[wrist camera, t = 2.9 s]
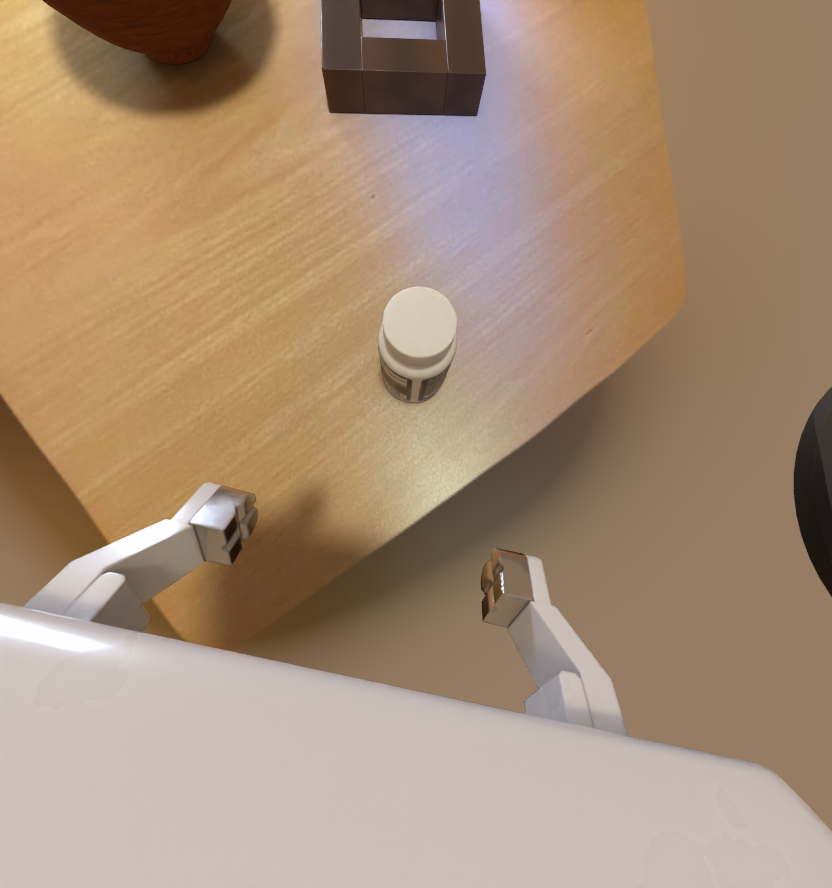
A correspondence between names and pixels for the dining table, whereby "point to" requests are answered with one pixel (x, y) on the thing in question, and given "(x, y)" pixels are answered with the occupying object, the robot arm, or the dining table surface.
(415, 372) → the pill bottle
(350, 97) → the dock
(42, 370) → the dining table surface
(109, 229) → the dining table surface
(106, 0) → the bowl
